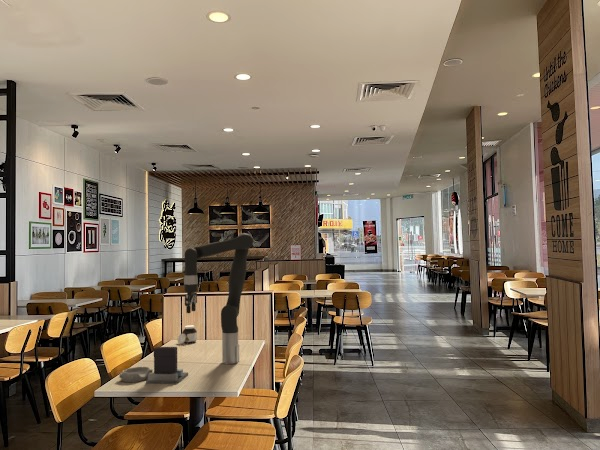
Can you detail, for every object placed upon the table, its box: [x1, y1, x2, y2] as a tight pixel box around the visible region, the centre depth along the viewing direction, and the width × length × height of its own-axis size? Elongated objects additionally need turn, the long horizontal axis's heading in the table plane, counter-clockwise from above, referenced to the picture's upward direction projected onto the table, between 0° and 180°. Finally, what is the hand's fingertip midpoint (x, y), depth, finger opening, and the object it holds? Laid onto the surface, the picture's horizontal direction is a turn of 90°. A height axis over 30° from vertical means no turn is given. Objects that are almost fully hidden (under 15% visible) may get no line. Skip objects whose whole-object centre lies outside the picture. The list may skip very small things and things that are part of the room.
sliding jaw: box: [177, 368, 184, 376], centre depth 250 cm, size 11×14×11 cm
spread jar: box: [177, 324, 198, 345], centre depth 340 cm, size 12×11×12 cm
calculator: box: [153, 346, 178, 373], centre depth 242 cm, size 11×4×15 cm, turn 87°
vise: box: [145, 372, 189, 385], centre depth 244 cm, size 16×16×4 cm
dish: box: [119, 366, 154, 383], centre depth 246 cm, size 14×14×5 cm
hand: (191, 312), depth 273 cm, fingers open, 8 cm apart
